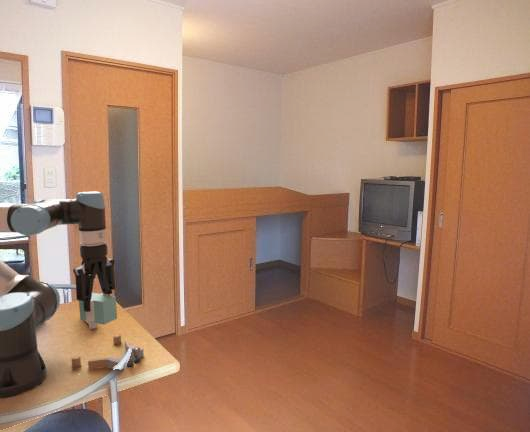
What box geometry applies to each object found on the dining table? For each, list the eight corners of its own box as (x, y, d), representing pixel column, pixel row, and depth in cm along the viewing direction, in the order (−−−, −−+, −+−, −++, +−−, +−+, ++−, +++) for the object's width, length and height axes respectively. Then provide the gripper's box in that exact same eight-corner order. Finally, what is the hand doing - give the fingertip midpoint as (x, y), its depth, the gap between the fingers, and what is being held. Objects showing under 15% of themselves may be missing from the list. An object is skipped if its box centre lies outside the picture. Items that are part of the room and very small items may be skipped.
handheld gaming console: (88, 320, 154) (98, 327, 142) (80, 321, 152) (90, 329, 140) (85, 291, 154) (95, 297, 142) (78, 293, 152) (87, 298, 140)
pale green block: (104, 324, 117) (102, 302, 116) (80, 319, 121) (78, 297, 120) (117, 318, 121) (115, 296, 120) (93, 313, 125) (91, 292, 124)
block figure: (108, 378, 109) (108, 370, 109) (70, 366, 115) (69, 359, 115) (153, 349, 126) (152, 342, 125) (117, 340, 132) (117, 334, 131)
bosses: (130, 368, 114) (129, 355, 114) (125, 366, 115) (124, 354, 115) (142, 360, 119) (141, 348, 118) (137, 359, 120) (136, 346, 119)
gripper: (76, 250, 108) (82, 331, 111) (125, 238, 124) (128, 309, 127) (57, 248, 111) (64, 326, 114) (107, 237, 127) (111, 305, 131)
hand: (98, 317), depth 121 cm, fingers closed on pale green block, 5 cm apart
